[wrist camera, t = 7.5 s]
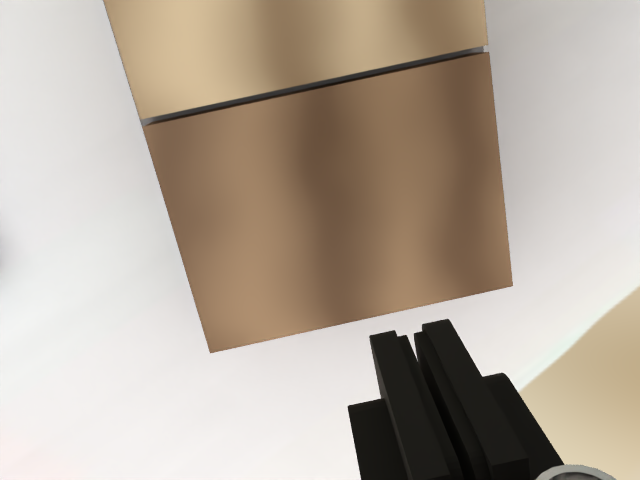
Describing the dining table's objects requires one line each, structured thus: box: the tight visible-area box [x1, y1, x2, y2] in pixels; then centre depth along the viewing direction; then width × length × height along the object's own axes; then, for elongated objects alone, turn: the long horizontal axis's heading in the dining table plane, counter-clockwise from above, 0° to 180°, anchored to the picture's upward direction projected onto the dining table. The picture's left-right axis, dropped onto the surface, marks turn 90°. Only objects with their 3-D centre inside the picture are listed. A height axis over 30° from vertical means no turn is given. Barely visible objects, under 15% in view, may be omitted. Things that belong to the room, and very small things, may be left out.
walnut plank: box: [142, 52, 513, 353], centre depth 27 cm, size 15×11×2 cm
